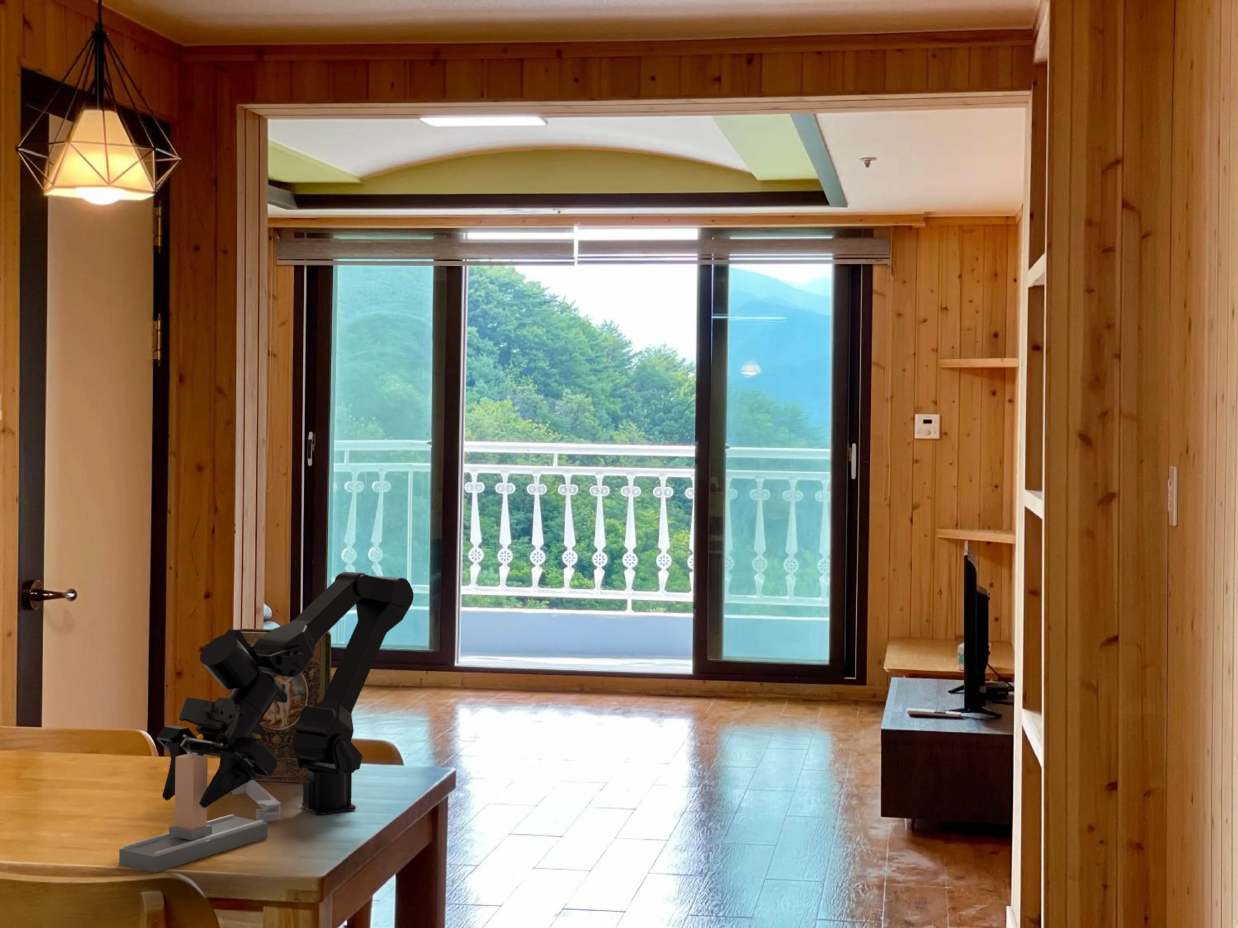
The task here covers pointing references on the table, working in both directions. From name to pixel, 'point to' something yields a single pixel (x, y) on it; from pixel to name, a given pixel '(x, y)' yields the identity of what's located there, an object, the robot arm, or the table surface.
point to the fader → (190, 797)
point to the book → (292, 709)
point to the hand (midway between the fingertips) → (183, 802)
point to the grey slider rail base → (191, 844)
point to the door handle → (261, 801)
